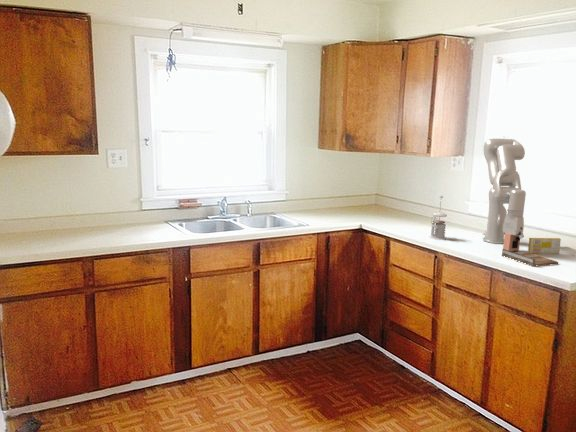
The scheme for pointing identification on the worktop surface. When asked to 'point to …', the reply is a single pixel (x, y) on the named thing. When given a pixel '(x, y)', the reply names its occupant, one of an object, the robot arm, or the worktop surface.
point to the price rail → (518, 256)
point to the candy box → (544, 245)
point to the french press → (438, 226)
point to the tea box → (510, 242)
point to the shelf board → (538, 259)
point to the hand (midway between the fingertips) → (511, 246)
